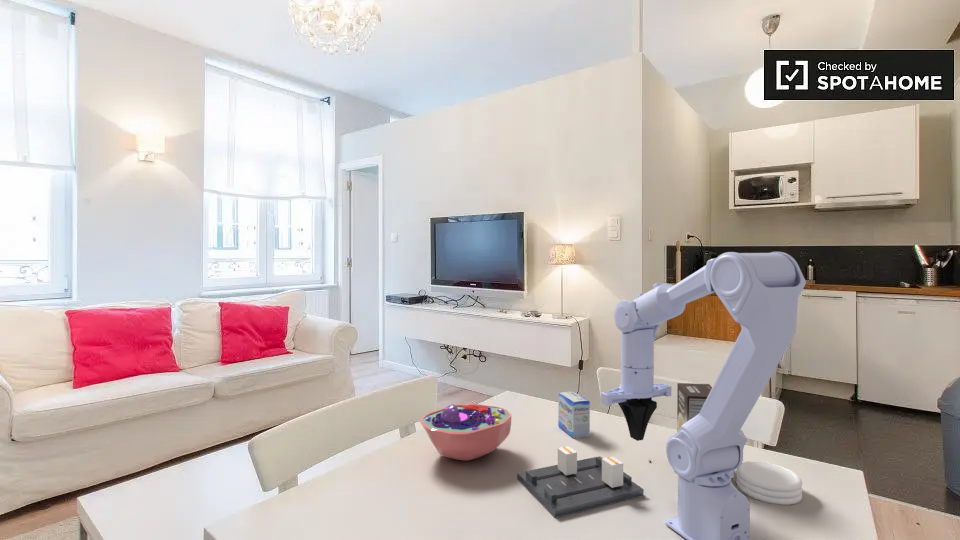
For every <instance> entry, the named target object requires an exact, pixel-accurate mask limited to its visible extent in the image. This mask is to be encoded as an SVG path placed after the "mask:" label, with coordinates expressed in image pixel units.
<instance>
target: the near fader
mask: <svg viewBox="0 0 960 540" xmlns="http://www.w3.org/2000/svg"><path fill="white" fill-rule="evenodd" d="M623 472H624V462H622V461H620V460H619V459H618V458H616V457H614V456H608V457H602V481H604V482H605V483H606V484H608V485H609V486H610V487H612V488H614V487H618V486H622V485H623Z"/></svg>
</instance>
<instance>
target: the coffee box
mask: <svg viewBox="0 0 960 540" xmlns="http://www.w3.org/2000/svg"><path fill="white" fill-rule="evenodd" d="M712 387H713V386H712V385H711V384H709V383H689V382H688V383H687V382H685V383H684V382H681V383H680V382H678V383H677V388H676V389H677V390H676V391H677V396H676V397H677V399H676V400H677V401H676V402H677V403H676V404H677V405H676V406H677V408H676V409H677V411H676V414H677V417H676V419H677V420H676V421H677V422H676V424H677V425H676V426H677V427H676V429H677V430H676V433H677V432H678V431H679V429H680V427H681V426H682V425H683V424H685V423H686V422H688V421H689V420H691V419H692V418H694V417H695V416H697V415H698V414H699V413H700V411H701V409H702V407H703V405H704V403H705V401H706V399H707V397H708V395H709V393H710V391H711V389H712Z"/></svg>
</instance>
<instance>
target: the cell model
mask: <svg viewBox="0 0 960 540" xmlns="http://www.w3.org/2000/svg"><path fill="white" fill-rule="evenodd" d="M419 423H420V425H421V426H422V427H423V430H425V432H426V434H427V437H428V438H429V440H430V442H431V444H432V445H433V446H434V447H435V449H436V451H437V453H438V454H439V455H440V456H442V457H444V458H449V459H454V460H456V461H457V460H458V461H467V462H468V461H471V460H475V459H478V458H479V459H480V458H482V457H483V456H486V455H487V454H490V453H492V452H494V451H495V450H496V449H497V448H498V447H499V446H501V445H502V444H503V443H504V442H505V440H506V439H507V438H508V436H509V435H510V433H511V427H512V414H511V412H509V411H508V410H507V409H505V408H502V407H497V406H493V405H492V406H491V405H484V404H480V403H479V404H478V403H465V404H464V403H462V404H460V403H458V404H454V403H453V404H449V405H447V406H446V407H442V408H440V409H437V410H434V411H430V412H429V413H427V414H425V415H424V416H422V417H421V419H420V421H419Z"/></svg>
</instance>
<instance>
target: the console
mask: <svg viewBox="0 0 960 540" xmlns="http://www.w3.org/2000/svg"><path fill="white" fill-rule="evenodd" d="M602 458H603V457H602V456H594V457H589V458H584V459H583V458H582V459H579V460H578V459H577V473H575V474H571V475H565V474H564V473H563V472H561V471H560V470H559V469H558V464H554V465H550V466H549V465H548V466H544V467H539V468H533V469H531V470H524V471H519V472H516V479H517V481H519V483H520V484H522V486H523V487H524V488H525V489H526V490H527V491H528V492H529V493H530V494H531V495H532V496H533V497H534V498H535V499H536V500H537V502H539V503H540V504H541V506H543V507H544V508H545V509H546V510H547V511H548V513H549V514H551V515H552V516H553V518H555V519H557V518H560V517H565V516H568V515H572V514H576V513H580V512H584V511H589V510H591V509H593V510H594V509H596V508H600V507H605V506H609V505H612V504H617V503H619V502H624V501H628V500H629V501H630V500H632V499H637V498H640V497H643V496H645V495H644V493H645V492H644V488H643V487H642V486H640V485H638V484H636V483H635V482H634V481H633V480H632V479H633V477H632V476H631V475H629V474H627V473H626V472H624V471H623V485H622V486H618V487H614V488H612V487H610V486H609V485H608V484H606V483H605V482H604V481H602Z"/></svg>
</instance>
